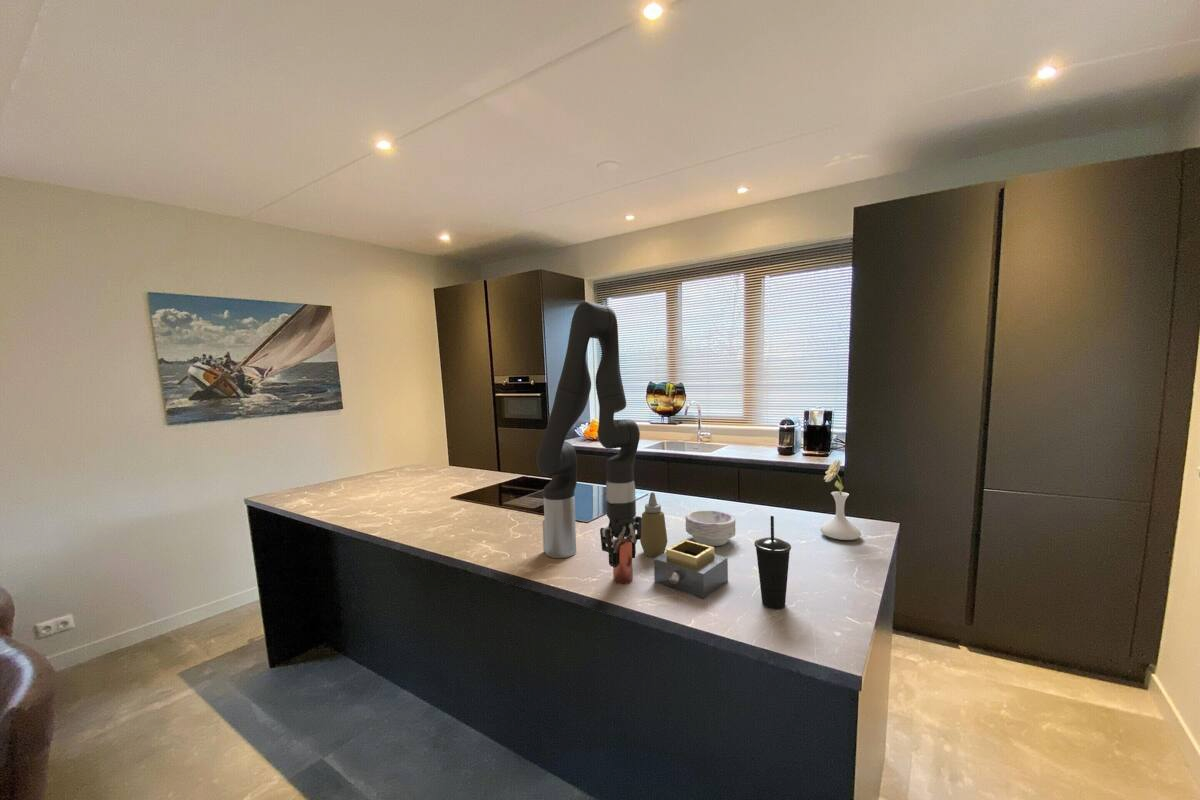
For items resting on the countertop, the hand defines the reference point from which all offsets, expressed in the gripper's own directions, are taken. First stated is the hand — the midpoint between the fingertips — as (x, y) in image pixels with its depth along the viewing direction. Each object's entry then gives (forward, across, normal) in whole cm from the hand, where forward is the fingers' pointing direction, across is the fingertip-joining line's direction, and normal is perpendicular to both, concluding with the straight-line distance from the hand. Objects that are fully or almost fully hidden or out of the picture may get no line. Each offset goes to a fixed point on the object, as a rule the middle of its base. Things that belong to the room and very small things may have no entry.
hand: (622, 561), depth 114 cm
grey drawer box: (+5, -10, +14) cm, 18 cm away
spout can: (+5, 0, 0) cm, 5 cm away
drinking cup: (+5, -12, +34) cm, 36 cm away
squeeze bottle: (+5, -19, -4) cm, 20 cm away
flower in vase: (+5, -65, +34) cm, 74 cm away
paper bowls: (+5, -38, +4) cm, 39 cm away
